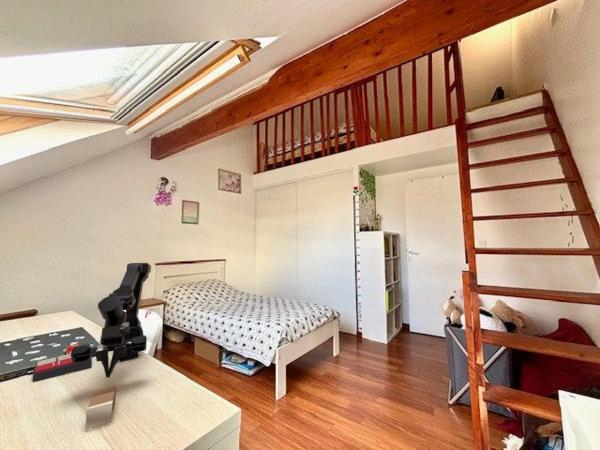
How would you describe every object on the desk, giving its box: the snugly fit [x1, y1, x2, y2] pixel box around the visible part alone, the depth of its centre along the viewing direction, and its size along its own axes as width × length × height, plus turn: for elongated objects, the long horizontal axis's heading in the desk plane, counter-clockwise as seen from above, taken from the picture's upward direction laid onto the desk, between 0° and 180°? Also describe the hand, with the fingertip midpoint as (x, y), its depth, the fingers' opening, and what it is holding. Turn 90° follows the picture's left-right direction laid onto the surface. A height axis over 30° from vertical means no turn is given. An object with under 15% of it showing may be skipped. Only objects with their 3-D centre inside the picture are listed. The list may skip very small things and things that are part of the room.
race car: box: [64, 343, 81, 355], centre depth 103 cm, size 13×5×4 cm, turn 46°
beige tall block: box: [85, 384, 117, 431], centre depth 67 cm, size 5×5×10 cm
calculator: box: [32, 354, 93, 383], centre depth 91 cm, size 11×4×15 cm
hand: (107, 377), depth 73 cm, fingers closed
